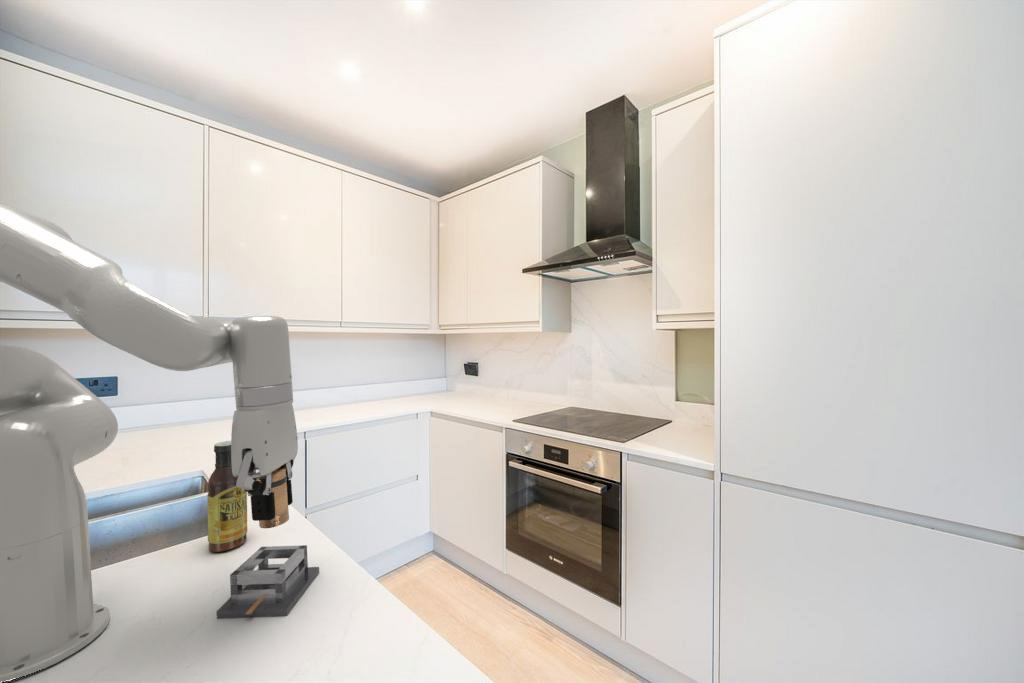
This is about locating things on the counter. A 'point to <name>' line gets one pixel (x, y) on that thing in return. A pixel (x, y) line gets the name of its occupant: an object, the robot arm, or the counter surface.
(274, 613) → the collar stand
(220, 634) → the counter surface
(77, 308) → the robot arm
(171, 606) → the counter surface
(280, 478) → the copper tube
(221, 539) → the sauce bottle
